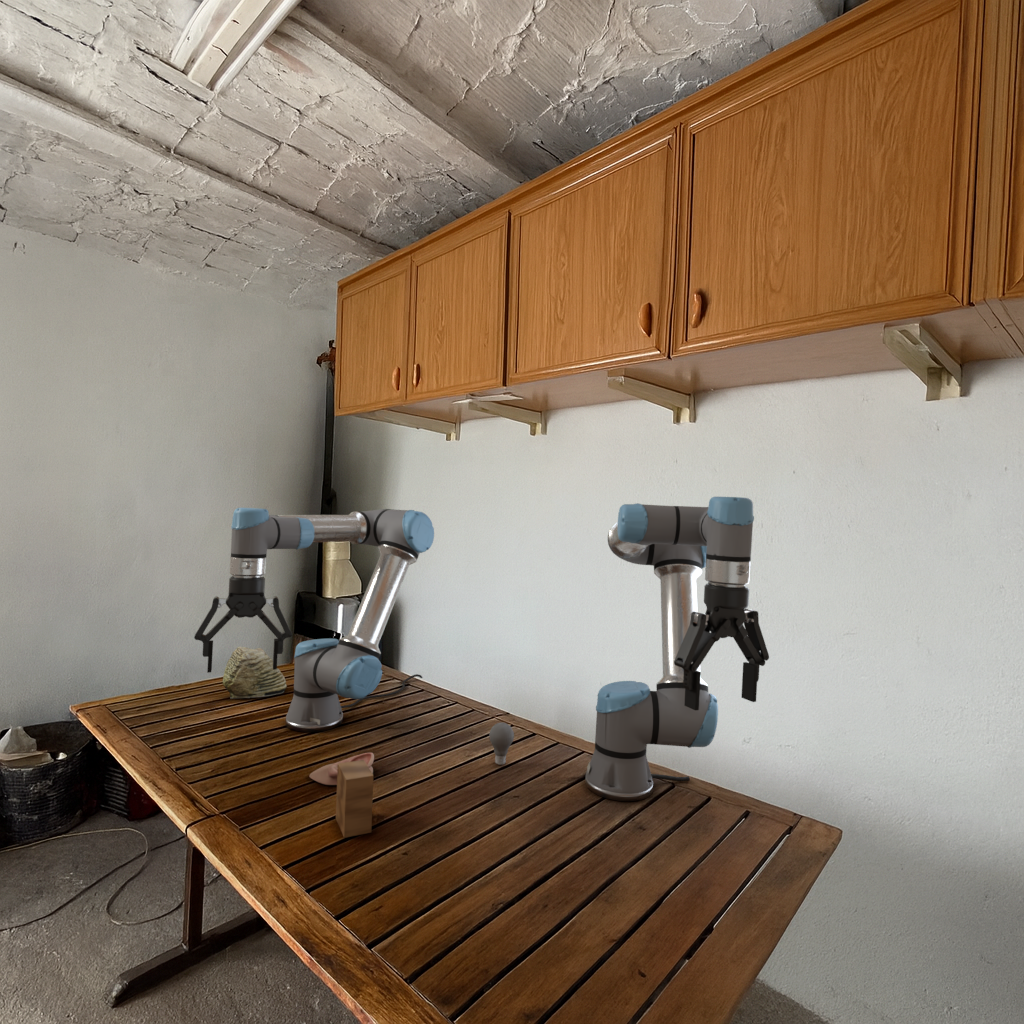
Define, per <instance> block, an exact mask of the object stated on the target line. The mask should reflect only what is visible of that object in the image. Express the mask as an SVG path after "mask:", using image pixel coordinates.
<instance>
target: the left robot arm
mask: <svg viewBox="0 0 1024 1024" xmlns="http://www.w3.org/2000/svg"><path fill="white" fill-rule="evenodd" d="M232 514H233V515H232V520H231V526H230V527H231V528H230V529H231V539H230V540H231V541H230V558H229V561H230V562H229V574H230V575H231V576H230V577H229V579H228V595H227V598H224V597H219V596H214V597H213V599H212V604H211V607H210V609H209V611H208V612H207V614H206V616H205V617H204V619H203V620H202V622H201V624H200V625H199V627H198V629H197V631H196V632H195V633H194V637H193V638H194V640H196V641H200V642H202V656H203V657H204V658H206V657H207V670H206V671H207V673H212V669H213V655H214V654H213V652H214V651H213V650H214V640H212V639H213V638H214V637H215V636H216V635H217V634H218V633H219V631H221V630H222V628H224V626H225V625H227V623H228V622H229V621H230V620H232V618H233V617H235V618H240V619H243V618H254V617H256V616H257V617H258V618H259V620H261V621H262V622H263V624H264V625H265V626H266V627H267V628H268V629H269V631H270V632H271V633H272V634H273V635H274V636H275V637H276V638H273V652H272V653H273V654H272V660H273V670H274V669H277V668H278V655H282V654H283V652H284V642H285V640H286V639H288V638H291V637H293V633H292V630H291V629H290V627H289V624H288V622H287V620H286V618H285V616H284V614H283V612H282V610H281V607H280V601H279V597H278V596H277V595H275V596H273V597H267V598H266V596H265V593H266V592H265V591H266V590H265V589H266V578H265V577H264V575H266V573H267V572H266V571H267V552H268V550H299V549H300V550H301V549H307V548H309V547H310V546H311V545H312V544H313V543H336V542H339V543H340V542H349V543H350V544H352V545H366V546H371V547H377V549H378V551H379V553H380V555H379V558H378V560H377V562H376V565H375V568H374V569H373V573H372V575H371V577H370V580H369V582H368V585H367V587H366V589H365V592H364V593H363V596H362V599H361V602H360V604H359V607H358V609H357V611H356V614H355V616H354V619H353V621H352V623H351V626H350V629H349V631H348V633H347V634H346V635H345V636H342V637H341V638H339V639H337V638H331V637H329V638H317V639H316V638H315V639H308V640H304V641H300V642H299V643H298V644H297V645H296V646H295V650H294V651H295V652H294V655H293V658H294V672H293V673H294V674H293V695H292V696H293V697H292V699H291V702H290V704H289V708H288V711H287V713H286V715H285V726H286V728H287V729H289V730H291V731H294V732H295V731H296V732H301V733H316V732H325V731H329V730H332V729H335V728H337V727H339V726H340V725H342V723H343V722H344V713H343V709H349V708H352V707H354V706H356V705H357V704H359V702H362V701H364V700H367V699H376V698H383V697H384V698H385V697H389V696H392V695H396V694H398V693H401V692H402V691H403V690H404V689H405V688H406V685H405V683H406V682H408V681H409V680H411V679H413V678H416V677H417V678H418V677H419V678H420V679H423V675H422V674H417V673H416V674H413V675H412V674H411V676H409V677H406V679H404V680H403V681H402V683H401V685H402V686H401V688H399V689H397V690H394V691H392V692H388V693H383V694H374V695H371V694H372V693H373V692H374V691H375V690H376V688H377V687H378V686H379V685H380V682H381V680H382V677H383V669H382V663H381V661H380V657H381V654H382V652H381V650H380V648H379V645H380V641H381V638H382V636H383V635H384V631H385V628H386V626H387V624H388V621H389V619H390V615H391V613H392V611H393V608H394V605H395V603H396V601H397V598H398V595H399V593H400V590H401V588H402V585H403V582H404V580H405V577H406V575H407V572H408V569H409V566H411V565H412V564H415V563H417V561H418V558H419V556H420V554H422V553H425V552H426V551H428V550H430V549H431V547H432V545H433V543H434V539H435V528H434V526H433V522H432V520H431V518H430V517H429V516H428V515H427V514H426V513H424V512H423V511H418V510H414V509H409V510H408V509H391V508H381V509H372V510H360V511H357V510H355V511H352V512H350V513H349V514H270V513H269V510H268V509H267V508H260V507H259V508H256V507H237V508H235V509H234V511H233V513H232ZM267 604H268V605H269V607H270V608H273V611H274V612H275V614H276V617H277V619H278V622H279V623H280V626H281V627H282V629H283V632H282V631H281V630H280V629H279V628H278V627H277V626H276V625H275V624H274V622H273V621H272V620H271V618H269V617H268V616H267V614H266V613H265V612H264V610H263V608H264V607H265V606H266V605H267ZM223 605H226V607H228V609H229V610H228V611H227V612H226V613H225V614H224V616H222V618H221V619H220V620H219V621H218V622H217V623H216V624H215V625H214V626H213V627H212V628H211V629H210V630H209V631H208V632H207V633H206V634H204V633H205V631H206V629H207V628H208V627H209V625H210V623H211V621H212V619H213V618H214V616H215V614H216V613H217V611H218V609H220V608H222V606H223ZM339 696H340V697H343V698H345V699H351V700H355V702H353V703H351V704H345V705H341V702H340V699H339Z"/></svg>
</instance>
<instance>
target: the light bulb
mask: <svg viewBox="0 0 1024 1024" xmlns="http://www.w3.org/2000/svg"><path fill="white" fill-rule="evenodd" d="M488 737H489V741H490V743H491V745H492V747H493V752H494V754H495V757H494V763H495V764H497V765H499V766H503V765H505V764H506V762H507V754H508V753H509V748H510V746H511V745H512V743H513V741H514V738H515V733H514V730H513V727H512V726H511V725H510V724H508V723H506V722H496V723H495V724H494V725H493V726H492V727H491V728H490V729H489V733H488Z"/></svg>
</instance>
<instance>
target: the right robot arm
mask: <svg viewBox="0 0 1024 1024" xmlns="http://www.w3.org/2000/svg"><path fill="white" fill-rule="evenodd" d="M754 521H755V516H754V502H753V501H752V499H751V498H750V497H739V496H711V498H710V499H709V501H708V506H688V505H687V506H685V505H660V504H642V503H624V504H622V505H621V506H620V507H619V509H618V515H617V521H616V522H615V523H614V524H613V525H612V526H611V527H610V528H609V530H608V534H607V545H608V547H609V550H610V551H611V552H612V554H613V555H615V556H616V557H618V558H619V559H621V560H623V561H625V562H627V563H631V564H635V565H640V566H651V567H652V566H653V574H654V575H655V576H656V577H657V578H658V579H659V580H660V582H659V583H660V615H661V616H660V617H661V618H660V619H661V657H662V658H661V659H662V661H661V662H662V677H660V679H659V680H658V681H657V682H656V686H655V687H656V690H651V688H650V686H649V684H647V683H645V682H642V681H636V680H619V681H614V682H610V683H607V684H605V685H603V686H602V687H600V689H599V691H598V692H597V700H596V705H595V711H596V717H595V718H596V719H595V720H596V722H595V738H594V751H593V753H592V756H591V759H590V761H588V764H587V766H586V771H585V778H584V779H585V780H584V782H585V783H584V784H585V786H586V788H587V789H588V790H589V791H590V792H592V793H593V794H595V795H597V796H599V797H601V798H605V799H608V800H612V801H619V802H636V801H637V802H638V801H642V800H645V799H647V798H649V797H650V796H651V795H652V794H653V792H654V780H653V779H657V780H666V781H674V782H689V781H690V780H691V778H690V776H672V775H668V774H659V773H658V774H657V773H652V772H651V769H650V764H649V761H648V757H647V746H648V745H656V746H657V745H658V746H671V747H684V748H685V747H687V748H688V749H689V748H706V747H708V746H710V744H711V743H712V742H713V740H714V738H715V735H716V731H717V726H718V720H719V704H718V698H717V697H716V695H714V694H713V693H709V685H708V684H707V682H706V681H704V679H703V678H702V674H701V672H702V671H701V664H702V663H703V661H704V660H705V658H706V657H707V656H708V654H709V653H710V651H711V649H712V647H713V646H714V644H715V643H716V642H718V641H719V640H720V639H726V638H729V637H730V638H733V640H734V641H735V643H736V644H737V646H738V648H739V650H740V651H741V653H742V654H743V656H744V658H745V659H746V661H744V662H742V678H741V699H744V700H746V701H749V702H752V703H756V702H757V694H758V693H757V691H758V682H759V679H760V666H761V667H764V666H765V665H766V661H768V660H769V659H770V654H769V651H768V649H767V645H766V641H765V639H764V635H763V633H762V630H761V626H760V621H759V612H758V611H757V610H753V609H749V604H750V589H749V587H748V586H746V585H749V584H750V580H751V579H750V578H751V577H750V576H751V574H750V573H751V560H752V544H753V527H754ZM704 568H705V570H704V580H705V581H706V582H707V583H705V585H704V589H703V603H704V604H705V607H706V610H705V613H702V612H699V611H698V592H697V591H698V590H697V579H698V578H699V577H700V576H701V575H702V574H703V569H704Z"/></svg>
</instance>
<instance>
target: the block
mask: <svg viewBox="0 0 1024 1024" xmlns="http://www.w3.org/2000/svg"><path fill="white" fill-rule="evenodd" d="M373 797H374V773H372V772H371V771H370V769H369V767H368V766H367V764H366V763H365V761H364V760H359V761H352V762H345V763H338V772H337V785H336V799H335V820H336V822H337V825H338V827H339V829H340V831H341V834H342V837H343V838H344V839H345V838H350V837H351V838H352V837H355V836H361V835H366V834H370V833H372V825H373V799H374V798H373Z"/></svg>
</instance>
